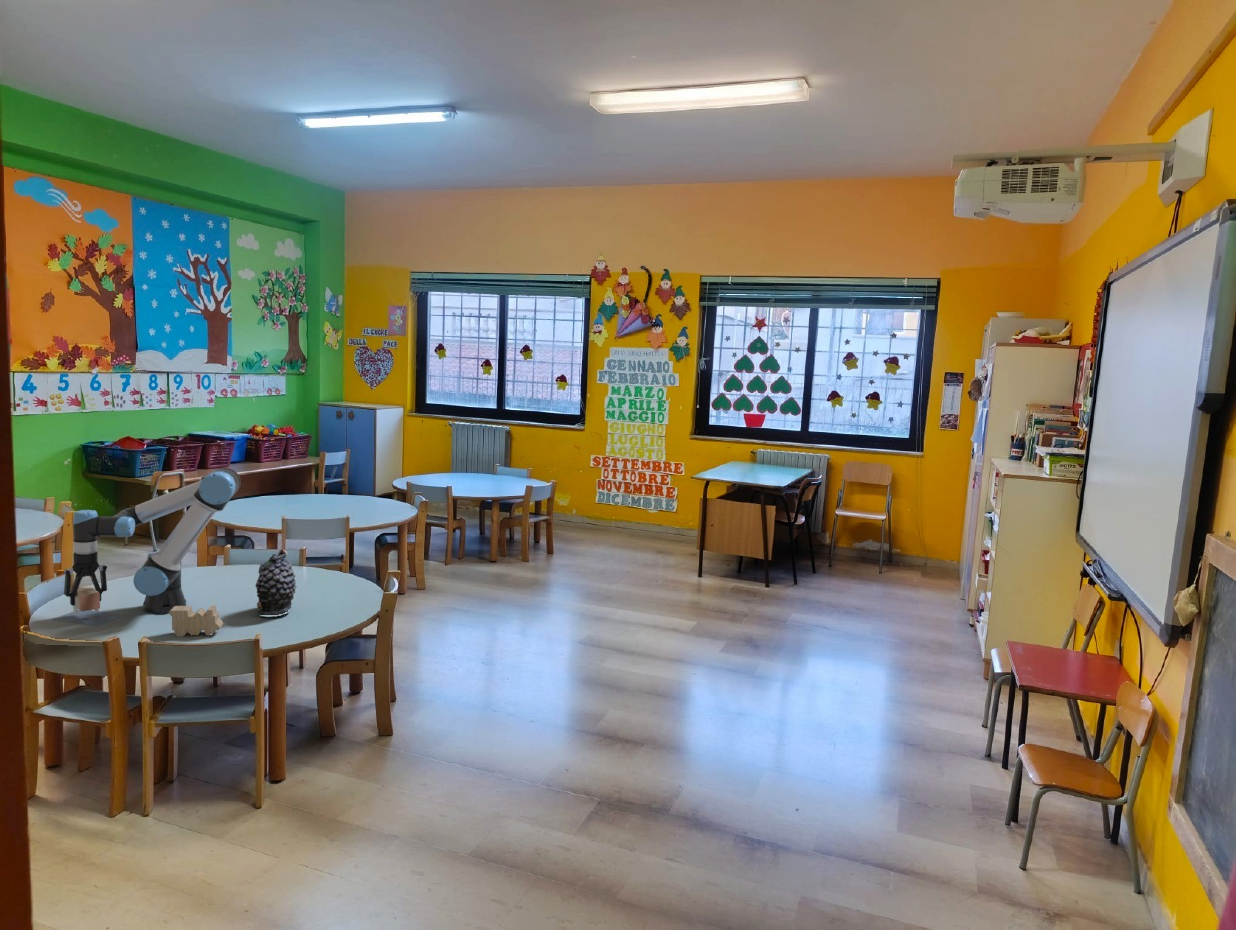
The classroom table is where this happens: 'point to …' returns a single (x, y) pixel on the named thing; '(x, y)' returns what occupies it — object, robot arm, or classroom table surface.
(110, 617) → the slate mat
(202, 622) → the toy train
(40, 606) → the classroom table surface
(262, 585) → the dark pine cone
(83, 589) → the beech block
